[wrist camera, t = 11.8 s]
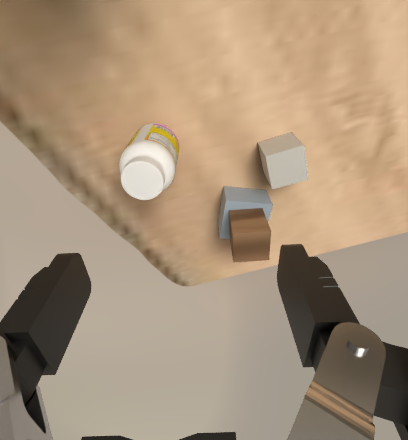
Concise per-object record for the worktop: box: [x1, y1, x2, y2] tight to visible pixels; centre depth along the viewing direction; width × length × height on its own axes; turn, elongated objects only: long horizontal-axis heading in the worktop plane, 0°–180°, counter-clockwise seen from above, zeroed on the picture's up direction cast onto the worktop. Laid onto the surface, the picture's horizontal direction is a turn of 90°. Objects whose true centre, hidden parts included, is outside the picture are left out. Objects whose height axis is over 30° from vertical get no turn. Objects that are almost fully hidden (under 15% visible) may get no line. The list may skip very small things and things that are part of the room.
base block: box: [218, 186, 273, 239], centre depth 45 cm, size 7×7×5 cm
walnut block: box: [229, 208, 271, 262], centre depth 40 cm, size 5×5×6 cm
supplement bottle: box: [119, 123, 179, 200], centre depth 36 cm, size 7×7×13 cm
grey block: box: [258, 132, 308, 189], centre depth 39 cm, size 5×5×6 cm
